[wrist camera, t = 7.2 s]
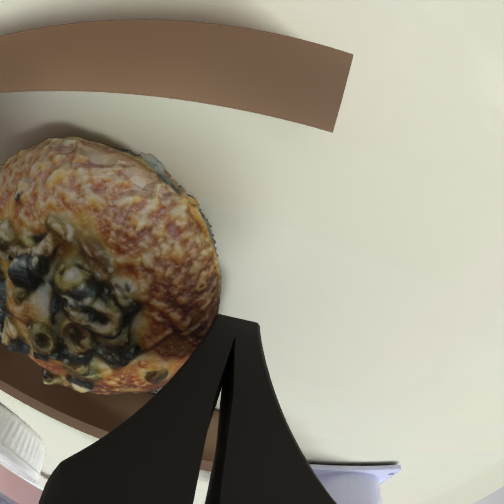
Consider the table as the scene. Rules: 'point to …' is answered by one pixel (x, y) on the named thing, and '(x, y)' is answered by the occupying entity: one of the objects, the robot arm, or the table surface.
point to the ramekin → (20, 446)
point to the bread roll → (102, 267)
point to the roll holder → (168, 86)
